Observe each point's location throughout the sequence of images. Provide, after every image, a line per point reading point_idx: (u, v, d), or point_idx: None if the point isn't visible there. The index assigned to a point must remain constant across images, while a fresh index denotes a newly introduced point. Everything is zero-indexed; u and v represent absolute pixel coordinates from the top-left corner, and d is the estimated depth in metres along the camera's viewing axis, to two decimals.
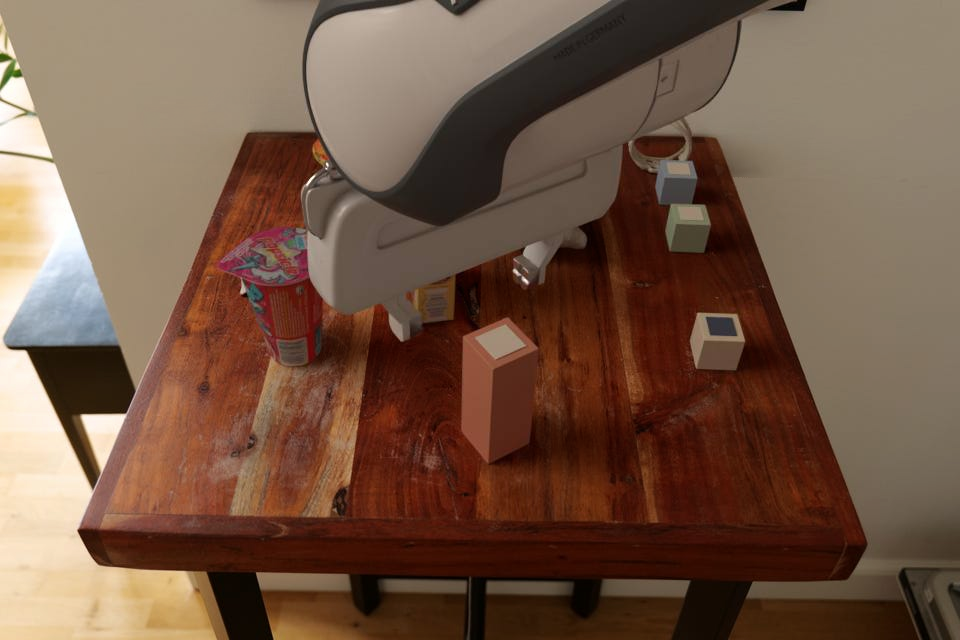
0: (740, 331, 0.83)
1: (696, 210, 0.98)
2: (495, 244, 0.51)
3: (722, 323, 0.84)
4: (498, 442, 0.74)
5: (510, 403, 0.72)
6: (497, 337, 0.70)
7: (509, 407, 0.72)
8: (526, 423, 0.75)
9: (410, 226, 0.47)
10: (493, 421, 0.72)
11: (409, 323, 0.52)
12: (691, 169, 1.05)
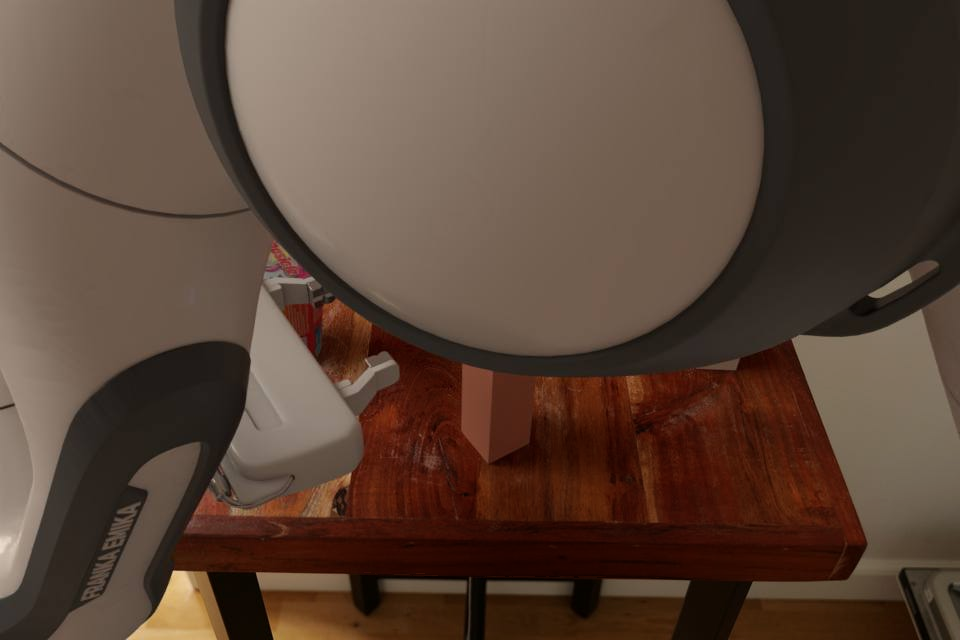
0: None
1: None
2: (272, 330, 0.56)
3: None
4: (498, 442, 0.74)
5: (510, 403, 0.72)
6: None
7: (509, 407, 0.72)
8: (526, 423, 0.75)
9: (259, 407, 0.51)
10: (493, 421, 0.72)
11: (374, 367, 0.55)
12: None
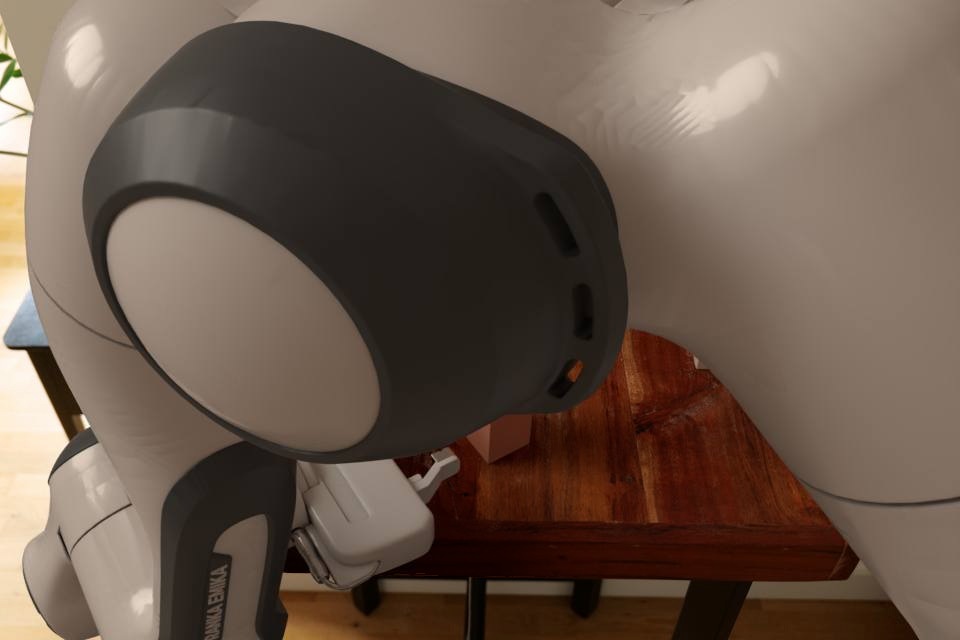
0: None
1: None
2: None
3: None
4: (498, 442, 0.74)
5: None
6: None
7: None
8: (526, 423, 0.75)
9: (348, 501, 0.62)
10: None
11: (439, 462, 0.66)
12: None
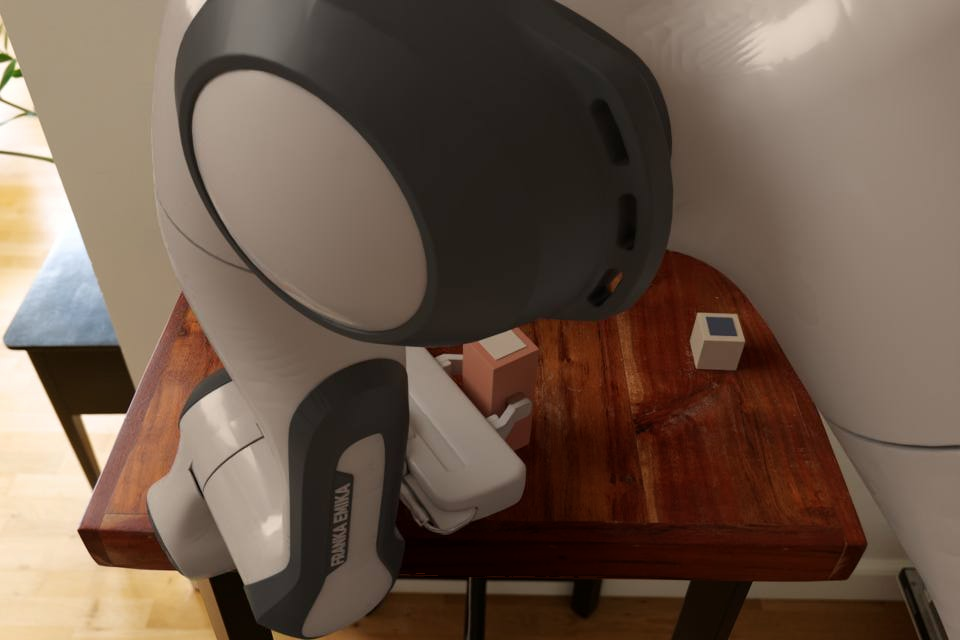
0: (740, 331, 0.83)
1: None
2: (443, 388, 0.70)
3: (722, 323, 0.84)
4: None
5: None
6: (497, 338, 0.70)
7: None
8: (526, 423, 0.75)
9: (444, 453, 0.65)
10: None
11: (513, 404, 0.70)
12: None
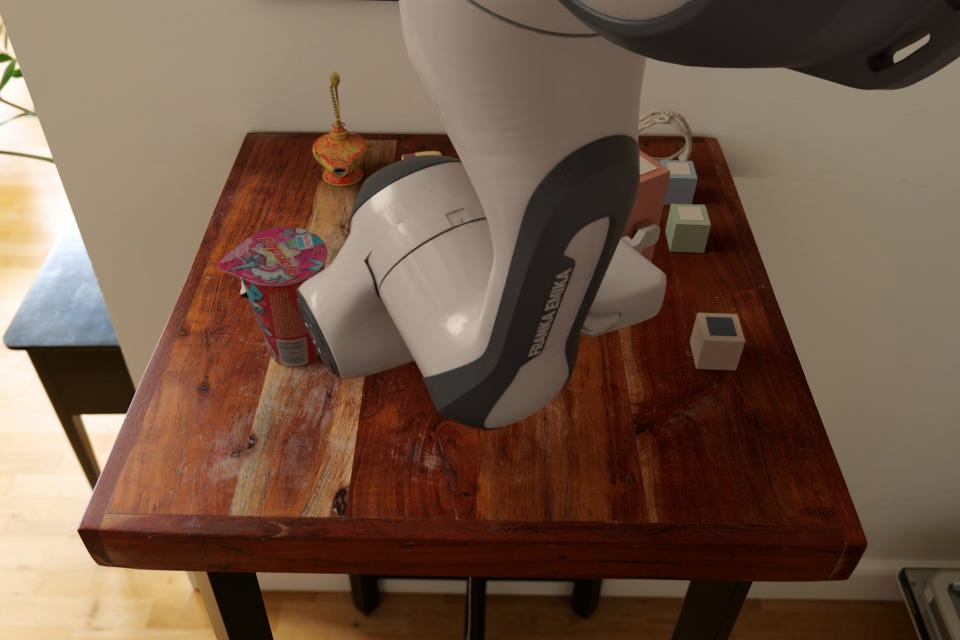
0: (740, 331, 0.83)
1: (696, 210, 0.98)
2: None
3: (722, 323, 0.84)
4: None
5: None
6: None
7: None
8: (648, 258, 0.75)
9: None
10: None
11: (643, 228, 0.70)
12: (691, 169, 1.05)
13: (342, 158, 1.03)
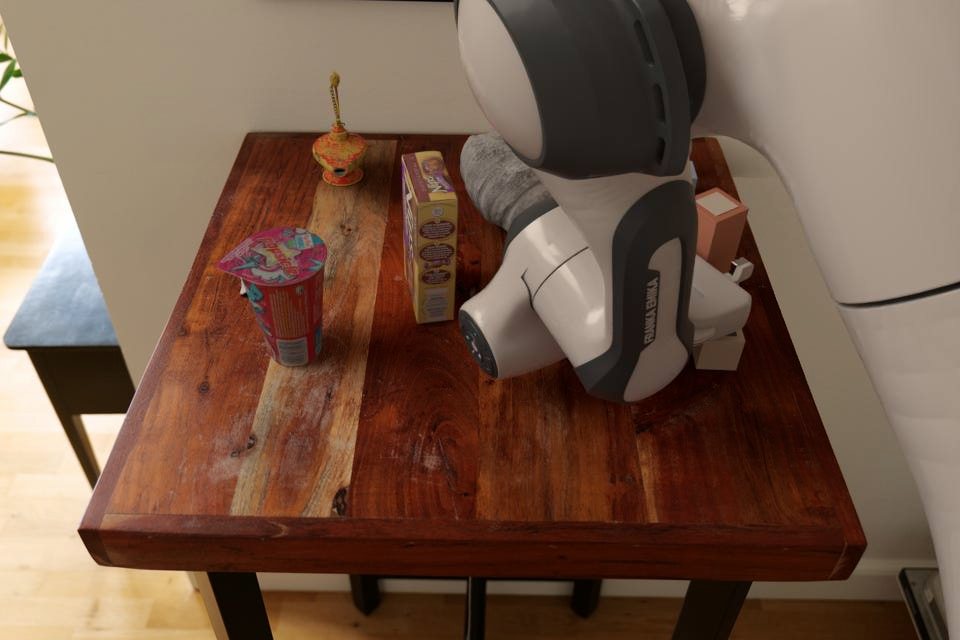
0: (740, 331, 0.83)
1: None
2: None
3: None
4: None
5: (720, 258, 0.87)
6: (713, 201, 0.86)
7: (718, 261, 0.87)
8: None
9: None
10: None
11: (740, 266, 0.85)
12: (691, 169, 1.05)
13: (342, 158, 1.03)
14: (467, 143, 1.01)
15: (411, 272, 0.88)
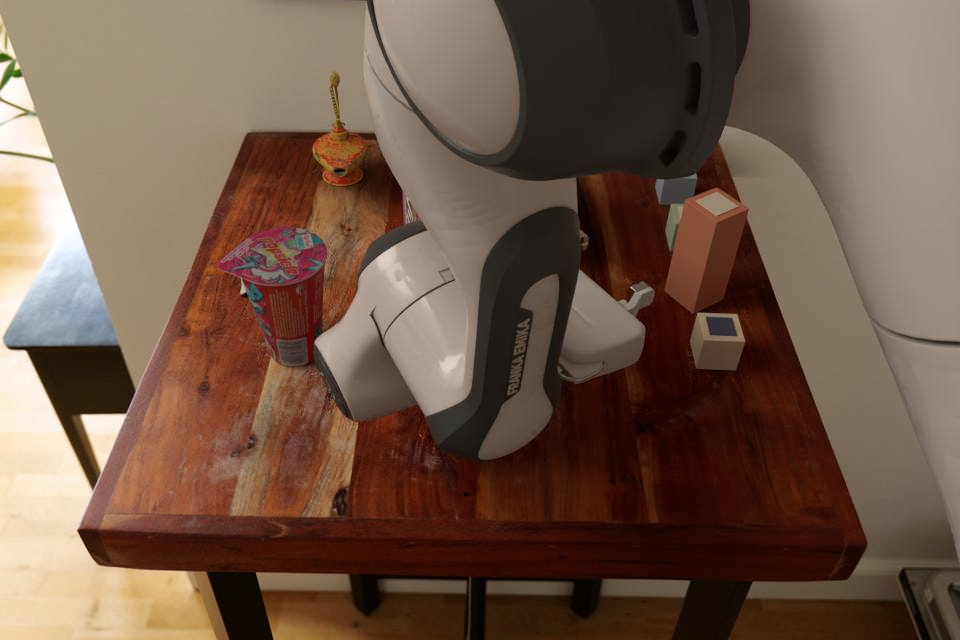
0: (740, 331, 0.83)
1: None
2: None
3: (722, 323, 0.84)
4: (704, 293, 0.90)
5: (720, 258, 0.87)
6: (713, 201, 0.86)
7: (718, 261, 0.87)
8: (725, 279, 0.91)
9: (571, 316, 0.73)
10: (705, 273, 0.87)
11: (639, 291, 0.76)
12: None
13: (342, 158, 1.03)
14: None
15: None
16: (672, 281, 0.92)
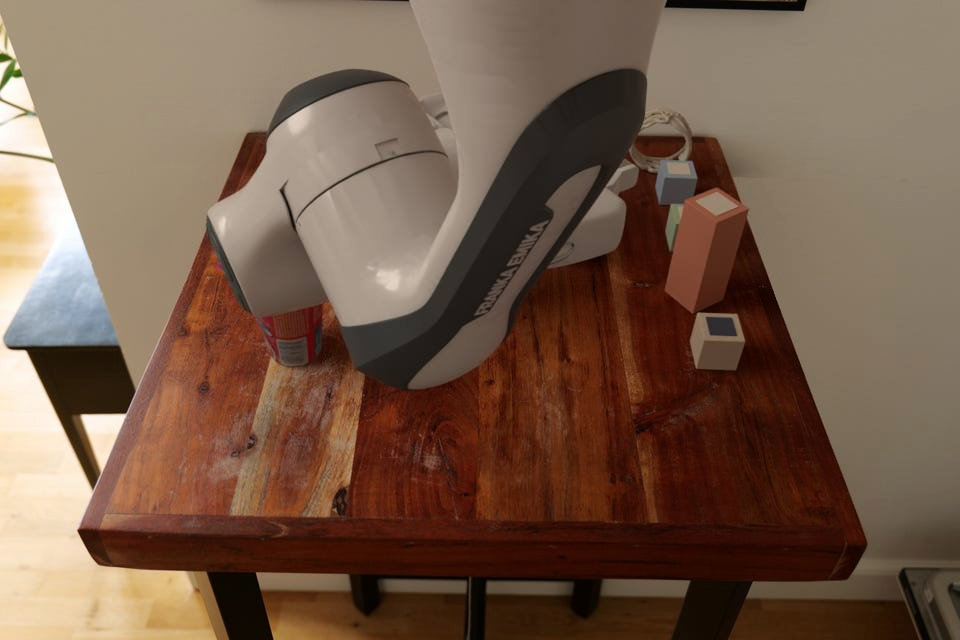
0: (740, 331, 0.83)
1: None
2: None
3: (722, 323, 0.84)
4: (704, 293, 0.90)
5: (720, 258, 0.87)
6: (713, 201, 0.86)
7: (718, 261, 0.87)
8: (725, 279, 0.91)
9: None
10: (705, 273, 0.87)
11: (619, 168, 0.62)
12: (691, 169, 1.05)
13: None
14: None
15: None
16: (672, 281, 0.92)
